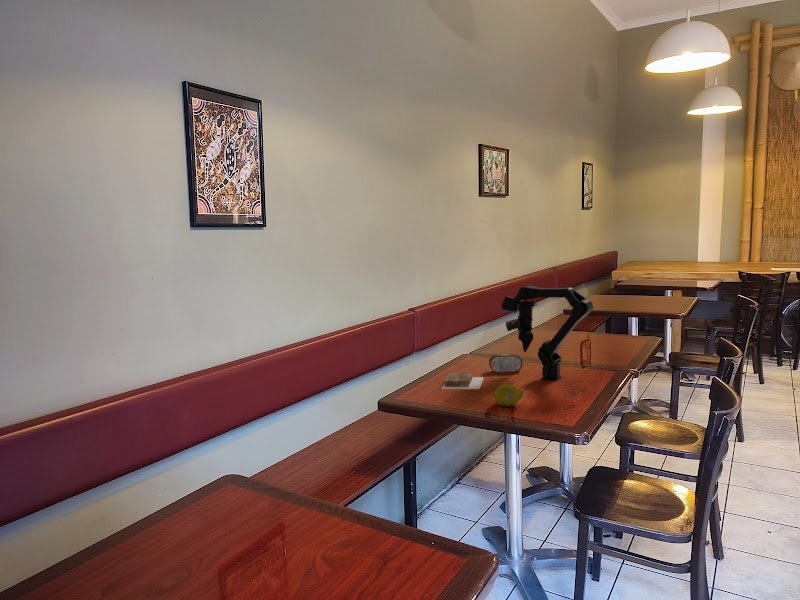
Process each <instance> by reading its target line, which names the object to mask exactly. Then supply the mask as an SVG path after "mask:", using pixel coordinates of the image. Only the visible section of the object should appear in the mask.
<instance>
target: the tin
mask: <svg viewBox="0 0 800 600" xmlns="http://www.w3.org/2000/svg"><path fill="white" fill-rule="evenodd" d="M523 363H524V362H523V359H522V357H521V356H520V355H519V354H517V353H496V354H493V355H491V357H490V358H489V359H488V365H489V368H490V370H492V372H494V373H518V372H519V371H521V369H522V368H523V366H524V365H523Z"/></svg>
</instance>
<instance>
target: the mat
mask: <svg viewBox="0 0 800 600" xmlns="http://www.w3.org/2000/svg"><path fill="white" fill-rule="evenodd" d="M483 381H484V377H483V376H481V377H480V376H478V377H476V376H475V377H474V376H472V380H471V383H470V385H469V387H450V386H445V381H444V383H443V384H442V386H441V388H440V389H446V390H447V389H448V390H449V389H450V390H451V389H452V390H453V389H455V390H480V389H481V387H482V383H483Z"/></svg>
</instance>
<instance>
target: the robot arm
mask: <svg viewBox="0 0 800 600" xmlns="http://www.w3.org/2000/svg"><path fill="white" fill-rule="evenodd" d="M539 298H564V299H566V300H567V302H568V304H569V305H570V306H571V307H572V309H571V311H570V315H569V317H568V318H567V319H566V320H565V322H564V323H563V325H562V326H561V328H560V329H559V330H558V331H557V332H556V334H554V336H553V337H552V339H548V340H546V341H544V342H543V343H542V344H541V346H540V347H539V348H537V350H538V351H537V357H538V359H539V360H540V363H541V364H542V367H541V372H542V377H541V379H542V380H550V381H558V380H560V379H561V378H563V376H562V375H561V364H560V363H561V362H562V359H563V358H562V357H561V355H560V354H559V353H558V352H559V349H560V346H561V345H562V343H563V342H564V341H565V339H566V338H567V337H568V336H569V335H570V334H571V332H572V331H573V329H574V328H575V327H576V326H577V325H578V323H579V322H580V321H581V320H582V319H584V318H585V317H586V316H588V315H589V314H590V313H591V312H592V311H593V310H594V305H593V302H592V301H591V300H589V299H586V297H584V296H583V295H582V294H581V293H579V292H577V291H576V290H575V289H574V287H572V286H571V287H543V288H542V287H539V286H535V285H526V286H522V287H520V288H519V290H518V293H517V294H516V295H515V296H514V297H513V296H511V295H506V296H504V299H503V301H502V303H501V309H502V311H503V312H508V313H513V314H516V313H517V312H518V315H517V318H514V319H510V320H507V321H506V322H505V326H506V327H505V328H506V330H507V332H511V331H513V330H518V333H517V334H518V336H517V338H518V341H520V342H521V344H522V350H523V353H527V351H528V349H529V347H530V345H531V343H532V342H533V340H534V332H533V331H532V330H533V309H534V307H536V306H538V302H536V300H535V299H539Z"/></svg>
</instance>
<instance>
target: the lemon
mask: <svg viewBox="0 0 800 600" xmlns="http://www.w3.org/2000/svg"><path fill="white" fill-rule="evenodd" d="M492 396H493V397H494V399H495V401H496V403H497V404H499V405H500V406H503V407H511V406H514V405H516V404H517V403H518V402H519V401H520V400H521V399H522V398H523V396H524V390H523V389H521V388H520V387H517V386H515V385H513V384H506V383H504V384H502V385H500V386H498V387H497V388H496V389H495V392H494V393H493V395H492Z"/></svg>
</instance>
